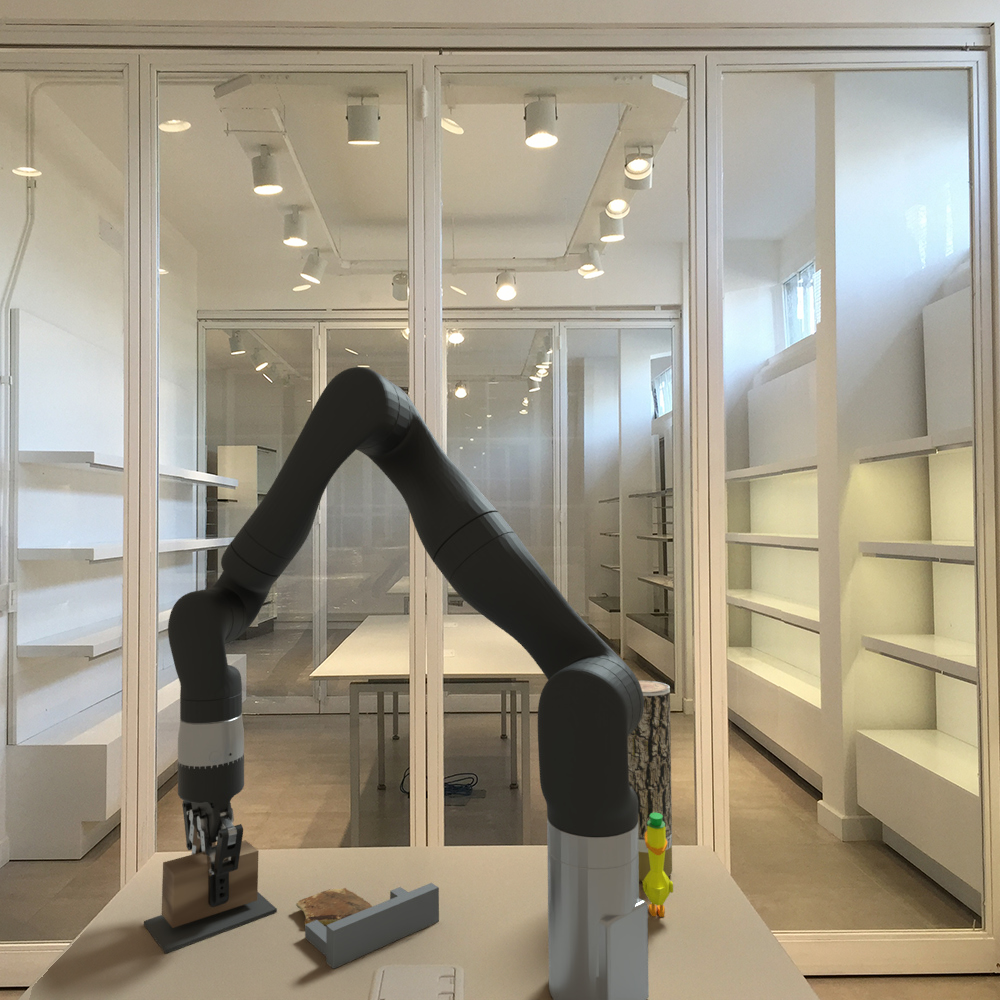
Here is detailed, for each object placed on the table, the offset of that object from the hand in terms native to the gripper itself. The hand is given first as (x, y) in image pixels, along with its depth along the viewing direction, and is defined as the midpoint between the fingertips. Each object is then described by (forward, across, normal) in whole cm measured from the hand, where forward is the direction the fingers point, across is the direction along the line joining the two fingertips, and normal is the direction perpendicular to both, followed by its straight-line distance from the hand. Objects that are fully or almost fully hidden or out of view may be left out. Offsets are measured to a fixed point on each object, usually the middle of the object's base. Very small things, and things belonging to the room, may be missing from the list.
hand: (211, 895), depth 90 cm
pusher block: (+1, 0, 0) cm, 1 cm away
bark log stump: (+3, -28, -48) cm, 56 cm away
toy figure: (+3, -35, -41) cm, 54 cm away
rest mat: (+3, 0, 0) cm, 3 cm away
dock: (+3, -15, -13) cm, 20 cm away
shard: (+3, -9, -13) cm, 16 cm away
